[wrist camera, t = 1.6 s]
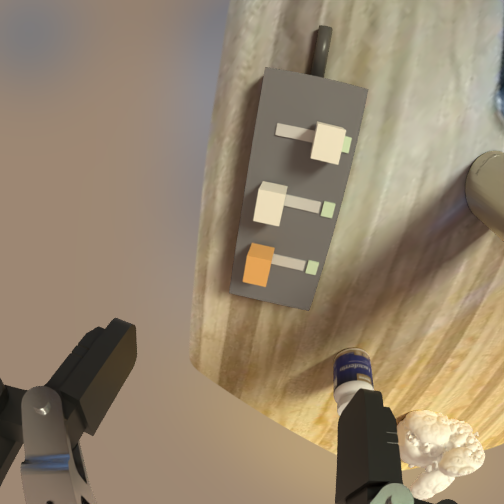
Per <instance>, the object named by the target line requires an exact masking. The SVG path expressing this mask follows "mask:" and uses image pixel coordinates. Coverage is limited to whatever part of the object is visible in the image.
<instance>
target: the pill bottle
mask: <svg viewBox="0 0 504 504" xmlns="http://www.w3.org/2000/svg"><path fill="white" fill-rule="evenodd" d="M360 388H363V389H368V390H374V387H373V379H372V370H371V362H370V357H369V355H368V353H367V352H365V351H364V350H362V349H359V348H350V349H346V350H343V351H341V352H340V353H339V354H337V356H336V357H335V359H334V399H335V401H336V402H337V412H338V415H339V416H340V415H341V413H342V411H343V410H344V408H345V407H346V406H347V404H348V403H349V402H350V400H351V399H352V398H353V396H354V395H355V393H356V392H357V391H358V390H359V389H360Z"/></svg>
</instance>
